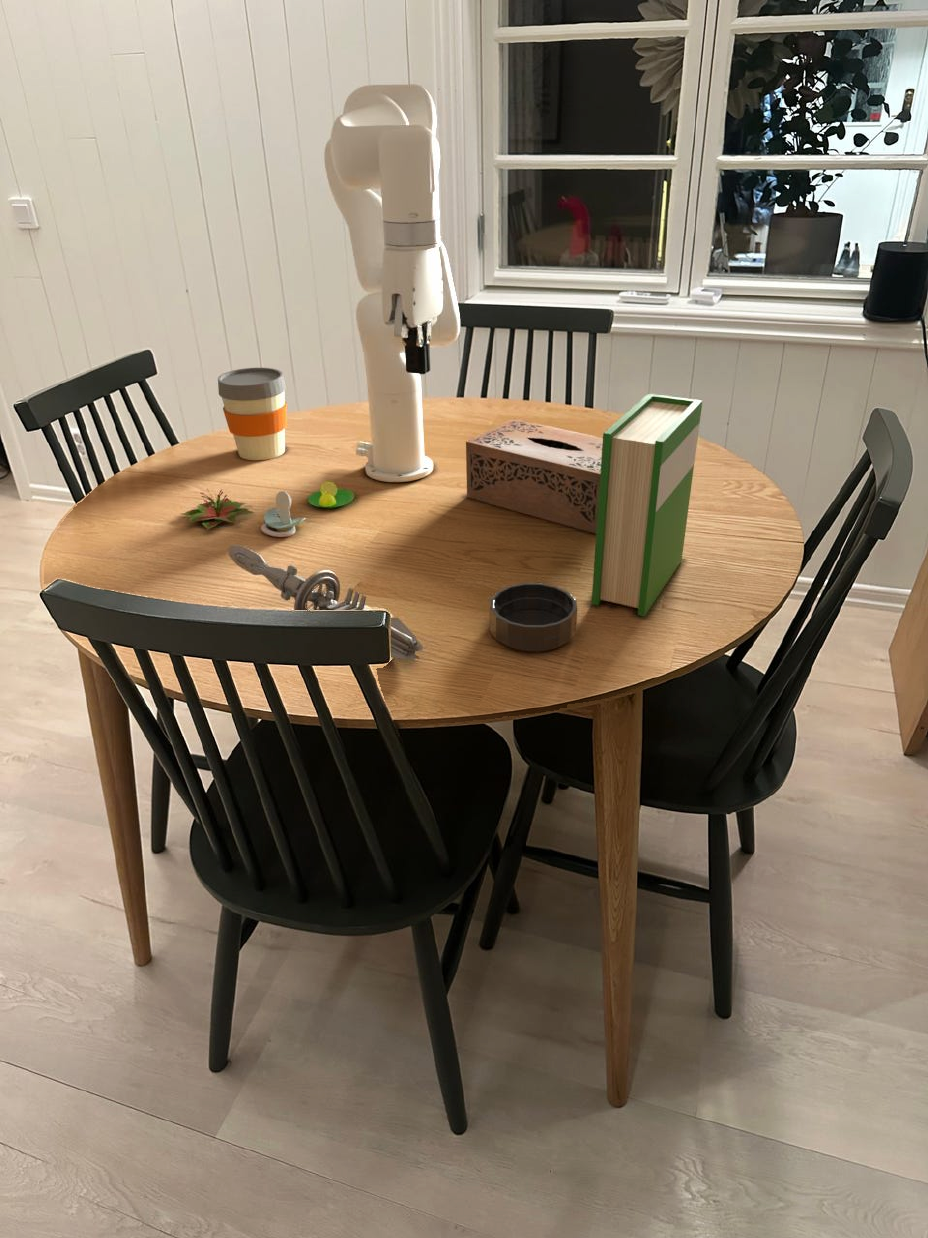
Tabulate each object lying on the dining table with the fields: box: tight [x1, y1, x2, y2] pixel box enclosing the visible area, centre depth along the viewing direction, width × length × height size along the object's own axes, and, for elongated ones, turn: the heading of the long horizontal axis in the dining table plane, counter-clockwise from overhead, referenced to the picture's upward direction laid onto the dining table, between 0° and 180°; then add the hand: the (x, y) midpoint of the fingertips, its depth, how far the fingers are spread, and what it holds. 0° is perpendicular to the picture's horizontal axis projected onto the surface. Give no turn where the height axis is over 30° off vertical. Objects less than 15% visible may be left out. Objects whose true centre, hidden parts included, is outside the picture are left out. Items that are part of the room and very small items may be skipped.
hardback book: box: [591, 393, 703, 617], centre depth 113 cm, size 18×7×24 cm, turn 152°
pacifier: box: [260, 490, 306, 538], centre depth 135 cm, size 7×6×6 cm
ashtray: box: [489, 582, 578, 653], centre depth 108 cm, size 11×11×4 cm
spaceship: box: [227, 544, 424, 662], centre depth 109 cm, size 8×35×8 cm
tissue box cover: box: [465, 418, 603, 535], centre depth 142 cm, size 26×14×10 cm, turn 53°
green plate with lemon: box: [307, 481, 355, 509], centre depth 145 cm, size 8×8×3 cm
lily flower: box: [181, 488, 256, 531], centre depth 140 cm, size 12×12×5 cm
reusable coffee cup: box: [217, 367, 288, 461], centre depth 163 cm, size 13×13×15 cm
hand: (418, 371), depth 123 cm, fingers closed
